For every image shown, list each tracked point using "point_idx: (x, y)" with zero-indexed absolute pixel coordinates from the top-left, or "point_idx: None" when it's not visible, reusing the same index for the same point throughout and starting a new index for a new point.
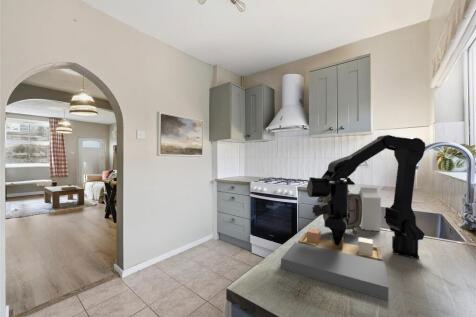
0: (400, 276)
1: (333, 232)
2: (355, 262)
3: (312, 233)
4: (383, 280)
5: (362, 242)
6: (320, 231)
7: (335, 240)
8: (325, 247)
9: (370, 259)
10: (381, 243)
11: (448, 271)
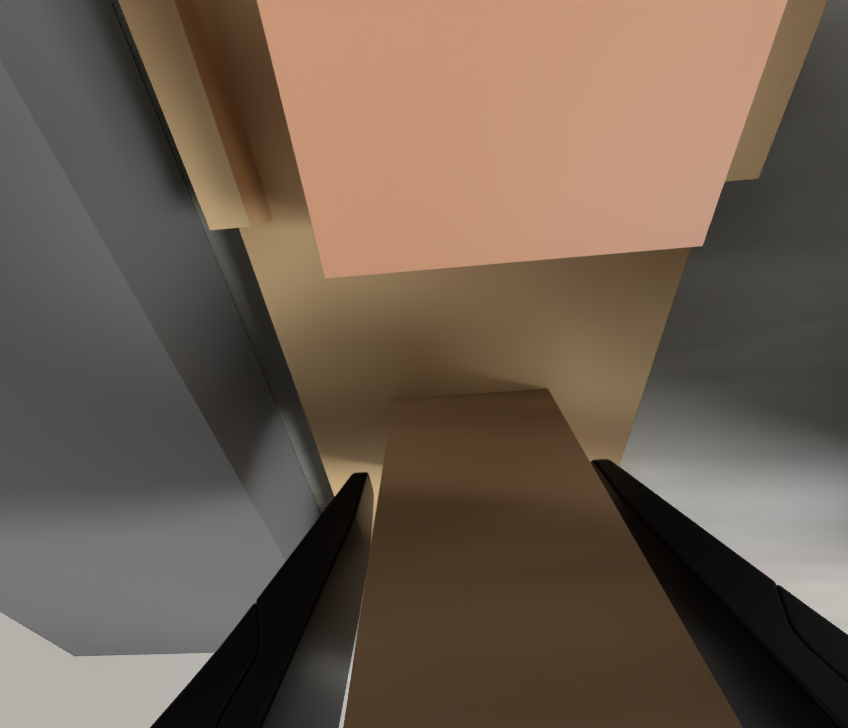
0: (360, 611)
1: (185, 719)
2: (176, 580)
3: (280, 37)
4: (114, 648)
5: None
6: (671, 239)
7: (318, 536)
8: (354, 337)
9: None
10: (781, 569)
11: None
